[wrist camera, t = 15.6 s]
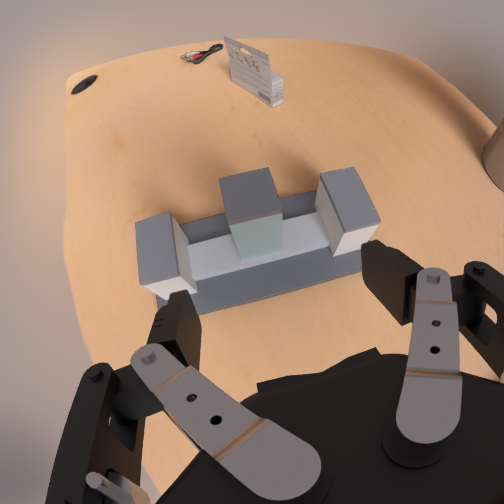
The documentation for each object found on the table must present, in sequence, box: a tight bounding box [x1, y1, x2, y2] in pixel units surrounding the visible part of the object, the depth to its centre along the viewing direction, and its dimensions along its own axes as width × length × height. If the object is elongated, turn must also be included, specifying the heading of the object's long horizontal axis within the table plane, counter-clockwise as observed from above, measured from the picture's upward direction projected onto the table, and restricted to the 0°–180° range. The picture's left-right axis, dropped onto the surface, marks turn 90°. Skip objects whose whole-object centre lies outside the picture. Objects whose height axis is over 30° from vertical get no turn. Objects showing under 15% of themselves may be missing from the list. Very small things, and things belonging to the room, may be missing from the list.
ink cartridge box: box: [224, 37, 283, 108], centre depth 36 cm, size 2×11×10 cm, turn 37°
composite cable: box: [180, 44, 223, 64], centre depth 47 cm, size 10×5×2 cm, turn 126°
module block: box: [219, 167, 282, 261], centre depth 25 cm, size 4×4×8 cm
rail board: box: [135, 167, 381, 315], centre depth 27 cm, size 23×10×7 cm, turn 104°
